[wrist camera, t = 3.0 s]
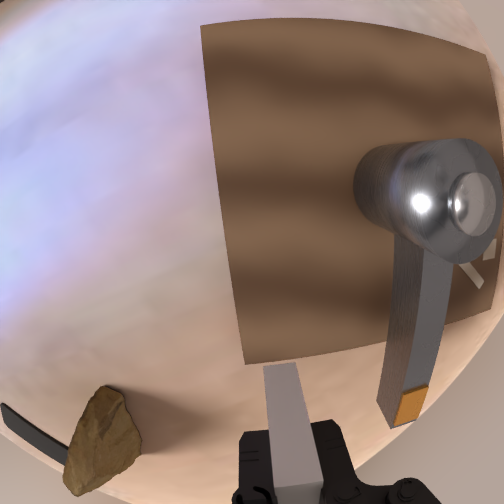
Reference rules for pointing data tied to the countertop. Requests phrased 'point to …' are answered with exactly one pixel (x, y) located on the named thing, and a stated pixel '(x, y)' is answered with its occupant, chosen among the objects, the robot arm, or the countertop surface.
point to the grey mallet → (425, 248)
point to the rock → (101, 443)
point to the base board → (330, 170)
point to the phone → (34, 435)
